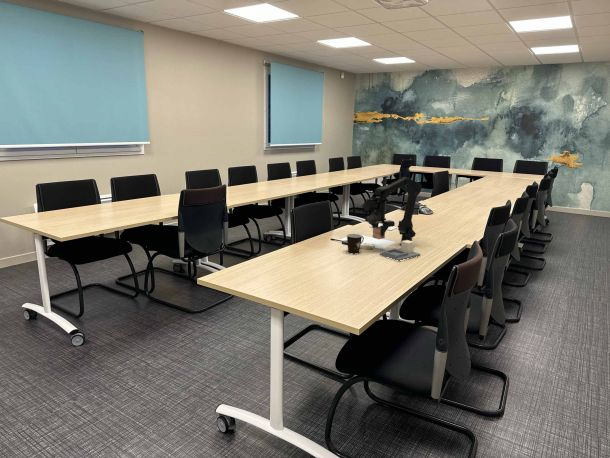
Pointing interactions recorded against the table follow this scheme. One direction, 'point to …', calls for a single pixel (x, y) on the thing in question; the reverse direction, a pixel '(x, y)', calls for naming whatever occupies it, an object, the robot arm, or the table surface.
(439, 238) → the table surface
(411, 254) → the socket board
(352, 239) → the coffee mug
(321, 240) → the table surface
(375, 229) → the terracotta block
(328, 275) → the table surface
